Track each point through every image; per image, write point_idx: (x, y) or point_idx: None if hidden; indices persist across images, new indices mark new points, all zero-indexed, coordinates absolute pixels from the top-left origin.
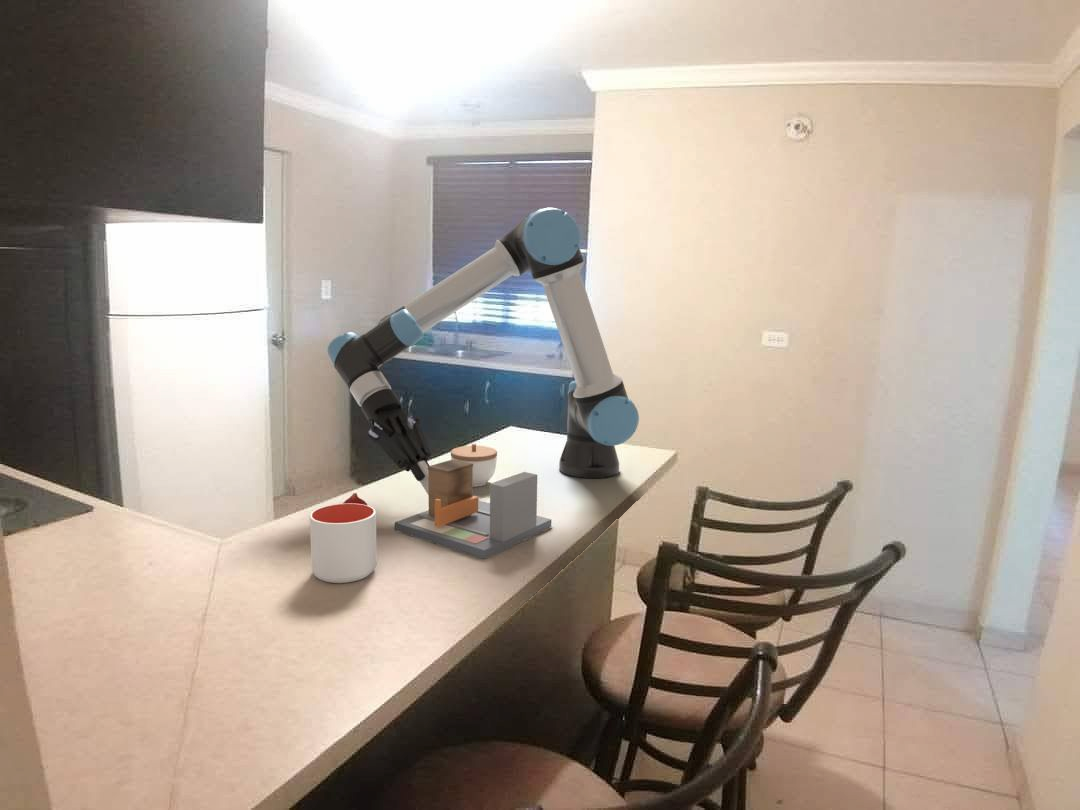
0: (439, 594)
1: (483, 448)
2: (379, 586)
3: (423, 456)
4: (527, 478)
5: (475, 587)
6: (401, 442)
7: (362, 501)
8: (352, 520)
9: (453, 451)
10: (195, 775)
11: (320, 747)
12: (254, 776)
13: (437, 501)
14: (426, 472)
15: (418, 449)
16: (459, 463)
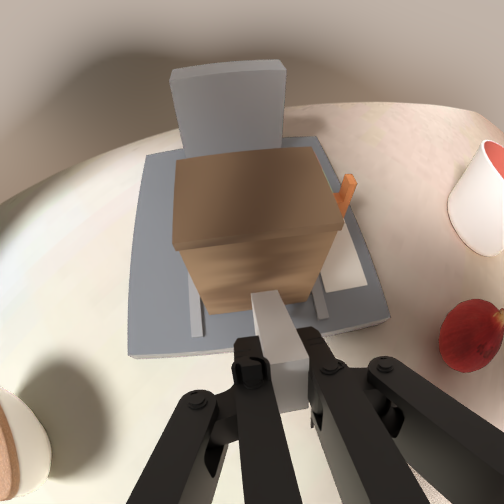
0: (395, 134)
1: None
2: (444, 177)
3: (255, 386)
4: (205, 64)
5: (359, 122)
6: (403, 465)
7: (481, 312)
8: (498, 209)
9: (3, 488)
10: (498, 131)
11: (465, 110)
12: (481, 118)
13: (353, 178)
14: (288, 322)
15: (265, 429)
16: (209, 182)
